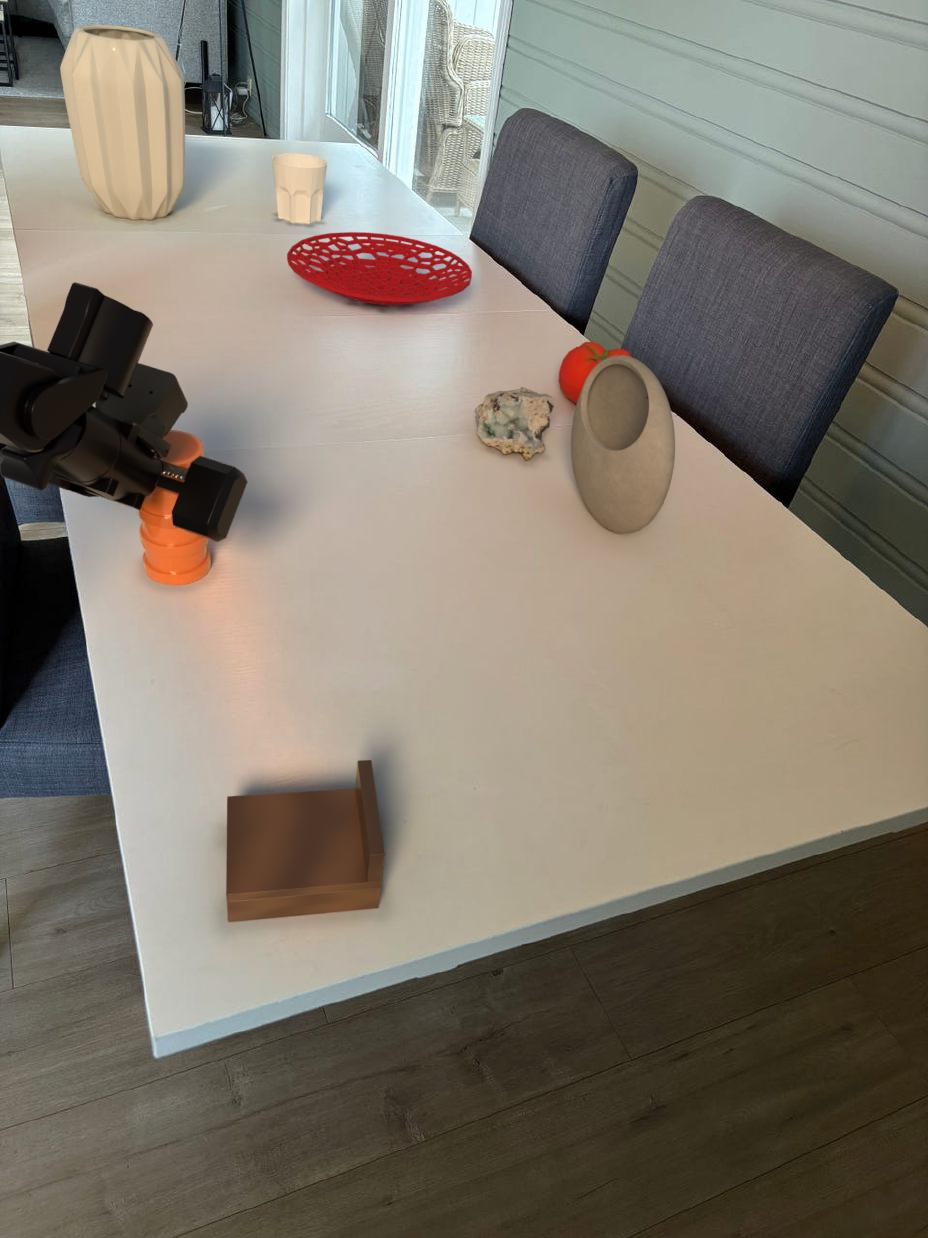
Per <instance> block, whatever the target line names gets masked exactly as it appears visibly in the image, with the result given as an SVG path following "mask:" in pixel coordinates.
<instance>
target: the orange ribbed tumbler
mask: <svg viewBox="0 0 928 1238" xmlns="http://www.w3.org/2000/svg"><path fill="white" fill-rule="evenodd" d="M163 439H164V440H165V441H167V442H168V443H170V444H171V448H170V450H169V453H168V455H167V458H166V459H165V458H161V459H160V460H161V461H164V462H167V463H171V464H174V465H177V466H180V467H183V468H186V469H187V468H189V467H190V464H191V462H192V461H194V460H195V459H196V458H198V457H199V456H202V457H205V449H204V448H205V447H204V444H203V442H202V440H201V439H200V438H199V437H197V436H195V435H193V434H191V433H189V432H186V431H181V430H177V429H176V430H175V429H171V430H170V431H169V433H168V434H167V435H166V436H165V437H163ZM161 475H163V476H166V477H169V478H172V479H175V480H178V481H181V482H184V480H183V479H182V480H180V479H179V478H178V479H177V478H175V477H174V478H173V477H171V475H170V476H168V475H167V474H166V475H164V474H163V472H162V474H161ZM177 497H178V495H176V494H173V493H170V492H167V491H164V490H161V489H158V488H155V490H154V491H153V492H152V493H151V494H150V495H149V496H148V497H145V499H144V502H143V504H142V507H141V509H140V510H137V509H136V513H137V516H138V517H139V519H140V520H141V524H140V525H139V529H138V530H139V531H138V532H139V538H140V539H139V540H140V543H141V546H142V547H143V548H144V552H143V554H142V563H143V564H142V565H143V571H144V573H145V575H146V576H147V577H148V578H150V579H151V580H153V581H154V582H156V583H159V584H162V585H168V586H182V585H189V584H192V583H194V582H198V581H199V580H201V579H203V578H204V577H205V576H206V575H207V574H208V573H209V571H210V570H211V567H212V562H211V561H212V559H211V551H210V549H209V548H208V546H207V545H208V543H209V541H210V539H207V538H204V537H201V536H198V535H195V534H192V533H190V532H187V531H185V530H182V529H180V528H177V527H175V526H174V525H173V521H172V510H173V507H174V505H175V502H176V500H177Z"/></svg>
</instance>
